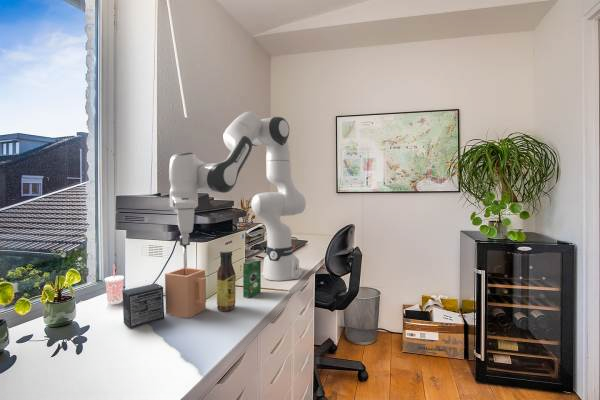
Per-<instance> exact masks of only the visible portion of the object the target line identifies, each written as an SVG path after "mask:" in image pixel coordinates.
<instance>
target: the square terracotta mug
mask: <svg viewBox="0 0 600 400" xmlns="http://www.w3.org/2000/svg"><path fill="white" fill-rule="evenodd" d="M164 284H165V285H164V286H165V287H164V293H165V296H164V297H165V315H168V316H172V317H173V316H174V317H178V318H183V319H189V318H192V317H193V316H194V315H197V314H198V313H201V312H203V311H204V310H206V309H207V306H206V304H207V278H206V269H200V268H193V267H187V276H184V267H181V268H179V269H175V270H172V271H170V272H166V273H164Z"/></svg>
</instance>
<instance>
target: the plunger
mask: <svg viewBox="0 0 600 400" xmlns="http://www.w3.org/2000/svg"><path fill="white" fill-rule="evenodd" d="M190 237H191V236H190V234H189V237H188V244H185V245H184V244H183V243H182V235H181V234H180V235H179V246H183V247H182V248H183V250H182V252H183V268H184V276H187V268H188V259H187V257H188V254H187V253H188V252H187V251H188V250H187V246H191V238H190Z"/></svg>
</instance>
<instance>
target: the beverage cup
mask: <svg viewBox="0 0 600 400" xmlns="http://www.w3.org/2000/svg"><path fill="white" fill-rule="evenodd" d="M112 270H113V273H112V274H113V275H111V276H108V277H105V278H104V283H105V289H106V297H107V304H108V305H118V304H120V303H123V294H122V291H123V289H124V279H125V277H124V275H116V265H115V263H113V264H112Z"/></svg>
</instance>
